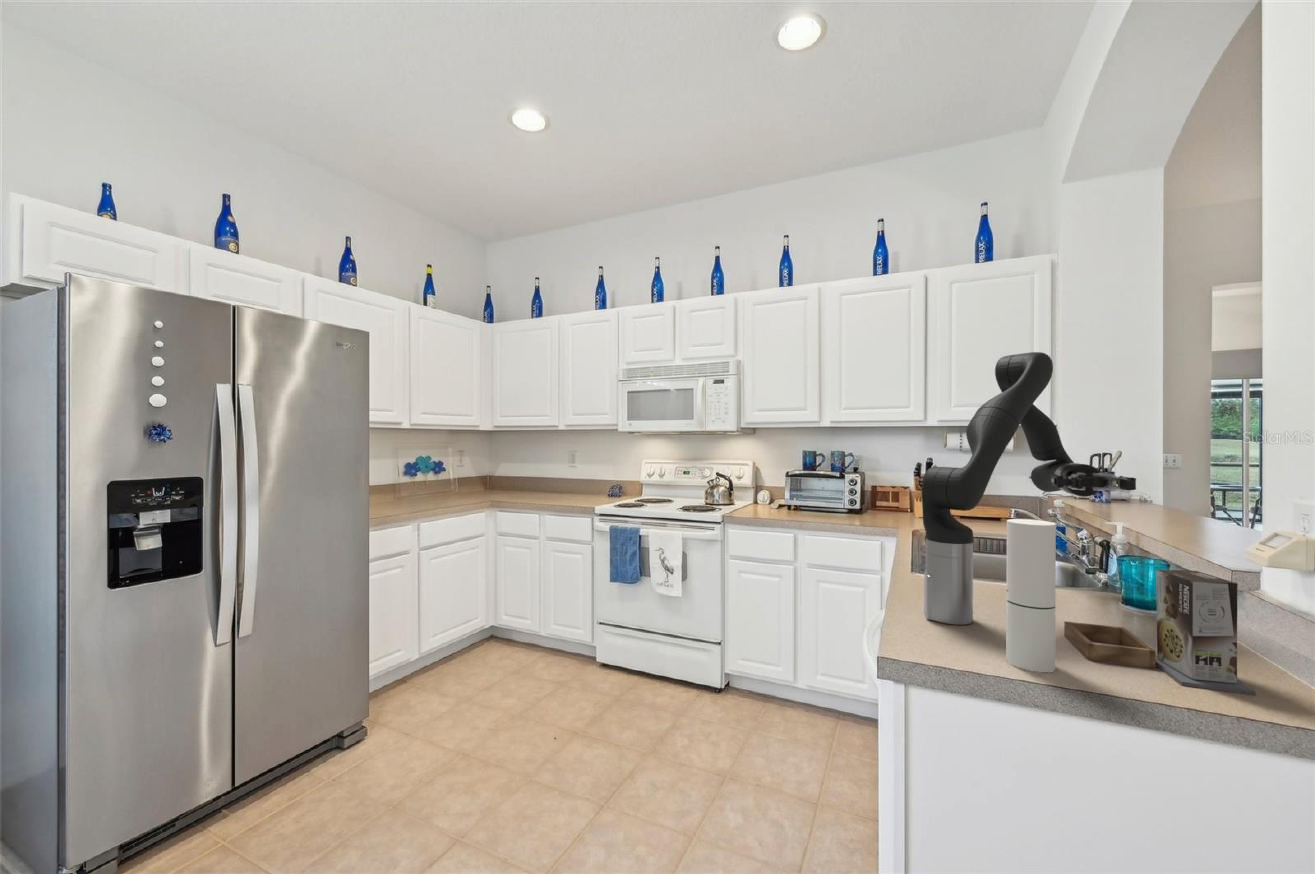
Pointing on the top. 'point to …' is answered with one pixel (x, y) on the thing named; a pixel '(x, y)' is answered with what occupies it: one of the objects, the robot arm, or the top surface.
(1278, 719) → the top surface
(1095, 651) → the walnut sleeve
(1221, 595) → the coffee box
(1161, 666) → the rubber mat
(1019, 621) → the cylindrical container
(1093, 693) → the top surface
